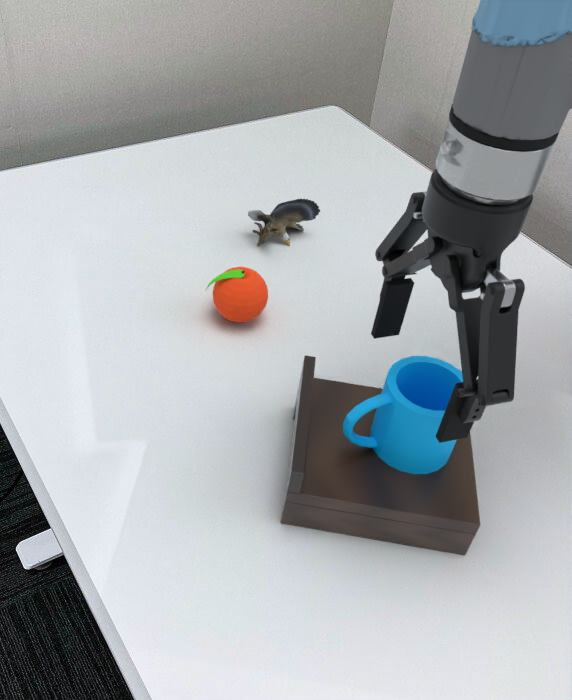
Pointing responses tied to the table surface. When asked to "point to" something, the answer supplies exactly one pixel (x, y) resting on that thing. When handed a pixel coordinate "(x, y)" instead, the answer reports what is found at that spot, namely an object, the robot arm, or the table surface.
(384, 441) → the mug
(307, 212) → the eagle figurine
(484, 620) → the table surface
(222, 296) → the clementine
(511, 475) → the table surface
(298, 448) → the dark wooden box
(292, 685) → the table surface
